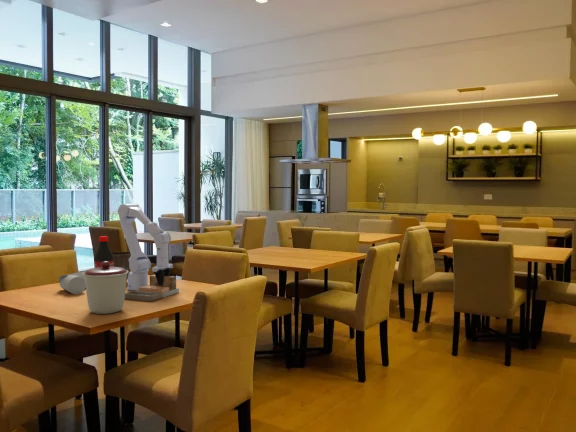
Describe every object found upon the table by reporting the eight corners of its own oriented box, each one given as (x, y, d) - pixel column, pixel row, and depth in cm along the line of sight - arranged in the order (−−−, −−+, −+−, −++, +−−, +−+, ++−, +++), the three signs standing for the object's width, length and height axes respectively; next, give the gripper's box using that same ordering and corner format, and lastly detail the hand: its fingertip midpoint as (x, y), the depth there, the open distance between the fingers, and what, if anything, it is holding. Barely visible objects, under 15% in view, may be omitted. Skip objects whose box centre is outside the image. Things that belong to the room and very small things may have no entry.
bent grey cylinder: (51, 286, 266) (63, 293, 250) (55, 266, 267) (68, 271, 251) (86, 290, 277) (99, 296, 261) (90, 270, 278) (103, 275, 262)
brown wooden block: (149, 287, 259) (149, 275, 259) (154, 286, 262) (153, 274, 262) (172, 289, 254) (172, 277, 254) (176, 288, 258) (176, 276, 257)
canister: (135, 312, 216) (134, 262, 215) (89, 319, 206) (88, 265, 205) (121, 304, 231) (120, 257, 230) (78, 310, 220) (77, 260, 219)
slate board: (135, 295, 250) (135, 291, 250) (153, 290, 263) (153, 286, 263) (162, 297, 245) (162, 293, 245) (178, 292, 258) (178, 288, 258)
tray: (123, 298, 243) (123, 293, 243) (134, 295, 250) (134, 290, 250) (152, 301, 237) (152, 296, 237) (162, 298, 245) (162, 292, 245)
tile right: (150, 292, 248) (150, 288, 248) (158, 289, 254) (158, 286, 254) (161, 293, 246) (161, 289, 246) (168, 290, 252) (168, 287, 252)
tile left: (138, 291, 251) (138, 287, 251) (146, 288, 256) (146, 285, 256) (149, 292, 249) (149, 288, 249) (156, 289, 254) (156, 286, 254)
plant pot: (98, 283, 283) (98, 253, 282) (121, 279, 295) (121, 250, 294) (116, 286, 274) (115, 255, 273) (139, 281, 286) (138, 252, 286)
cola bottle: (96, 305, 229) (94, 237, 227) (93, 301, 237) (92, 235, 235) (116, 303, 233) (115, 236, 231) (113, 299, 240) (111, 234, 239)
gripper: (160, 259, 249) (161, 287, 250) (177, 255, 263) (178, 282, 264) (148, 258, 252) (148, 286, 253) (165, 254, 265) (166, 281, 266)
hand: (162, 284), depth 258 cm, fingers closed on brown wooden block, 3 cm apart
